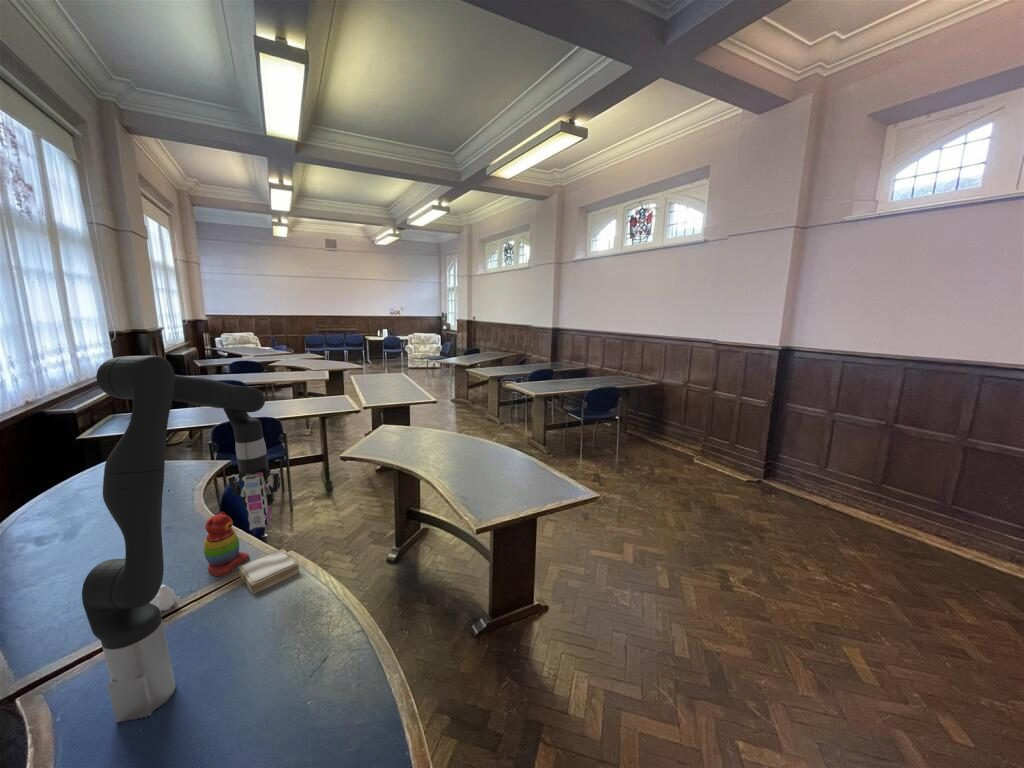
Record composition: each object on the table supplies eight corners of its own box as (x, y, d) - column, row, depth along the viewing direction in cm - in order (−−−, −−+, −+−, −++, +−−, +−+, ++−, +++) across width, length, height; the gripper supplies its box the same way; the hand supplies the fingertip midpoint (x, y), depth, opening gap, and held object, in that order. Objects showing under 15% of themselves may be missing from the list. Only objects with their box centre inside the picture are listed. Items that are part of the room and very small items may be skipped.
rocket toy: (158, 618, 110) (152, 593, 108) (151, 610, 113) (146, 585, 111) (182, 606, 114) (177, 581, 112) (175, 598, 117) (170, 574, 115)
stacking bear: (224, 577, 126) (215, 526, 122) (197, 573, 128) (188, 522, 124) (252, 556, 136) (245, 508, 133) (227, 553, 138) (219, 506, 135)
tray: (299, 572, 128) (298, 563, 127) (253, 594, 118) (251, 584, 118) (284, 556, 136) (282, 547, 136) (239, 575, 127) (238, 566, 126)
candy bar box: (268, 527, 120) (261, 476, 116) (249, 531, 118) (240, 479, 114) (273, 509, 130) (266, 462, 126) (255, 513, 128) (247, 465, 124)
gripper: (218, 460, 114) (227, 514, 118) (273, 456, 117) (280, 508, 120) (230, 450, 121) (239, 501, 125) (282, 447, 124) (289, 497, 128)
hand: (259, 505), depth 123 cm, fingers closed on candy bar box, 5 cm apart
